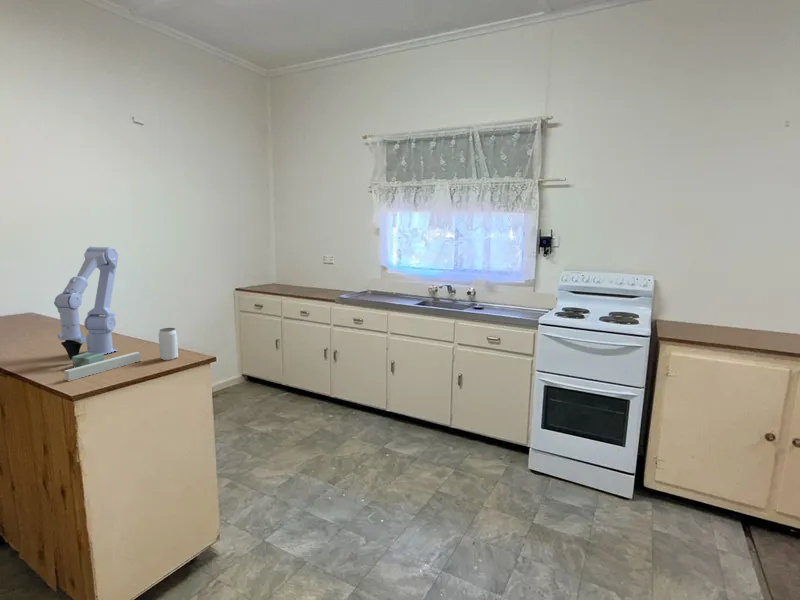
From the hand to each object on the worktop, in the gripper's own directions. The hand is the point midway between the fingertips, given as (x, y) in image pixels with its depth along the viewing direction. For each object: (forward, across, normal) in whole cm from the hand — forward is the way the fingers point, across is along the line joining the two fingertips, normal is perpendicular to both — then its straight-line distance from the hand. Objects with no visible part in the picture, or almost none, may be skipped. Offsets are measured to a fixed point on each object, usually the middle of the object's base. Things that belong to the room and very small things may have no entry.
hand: (74, 359), depth 172 cm
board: (+2, +19, 0) cm, 19 cm away
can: (+2, +26, +21) cm, 33 cm away
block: (+2, +9, 0) cm, 9 cm away
